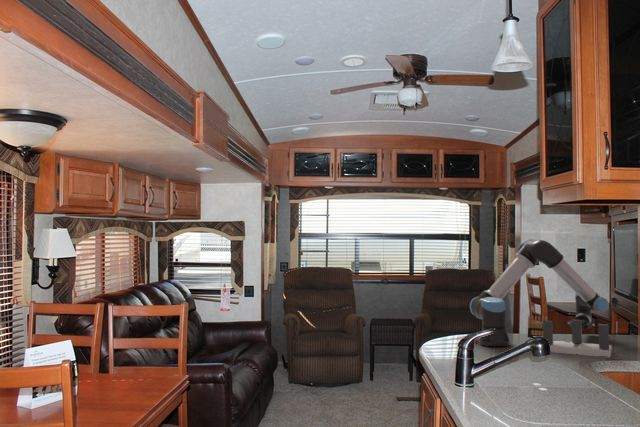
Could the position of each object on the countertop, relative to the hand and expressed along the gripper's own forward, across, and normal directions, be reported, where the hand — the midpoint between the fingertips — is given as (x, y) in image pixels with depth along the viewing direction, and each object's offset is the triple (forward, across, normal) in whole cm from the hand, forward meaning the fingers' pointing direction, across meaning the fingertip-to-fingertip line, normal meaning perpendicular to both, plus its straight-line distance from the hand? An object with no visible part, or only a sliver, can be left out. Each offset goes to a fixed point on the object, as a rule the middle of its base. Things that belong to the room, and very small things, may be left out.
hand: (578, 328), depth 268 cm
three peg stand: (+10, 0, -9) cm, 14 cm away
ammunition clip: (-17, +21, -9) cm, 29 cm away
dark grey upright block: (+6, 0, -6) cm, 8 cm away
